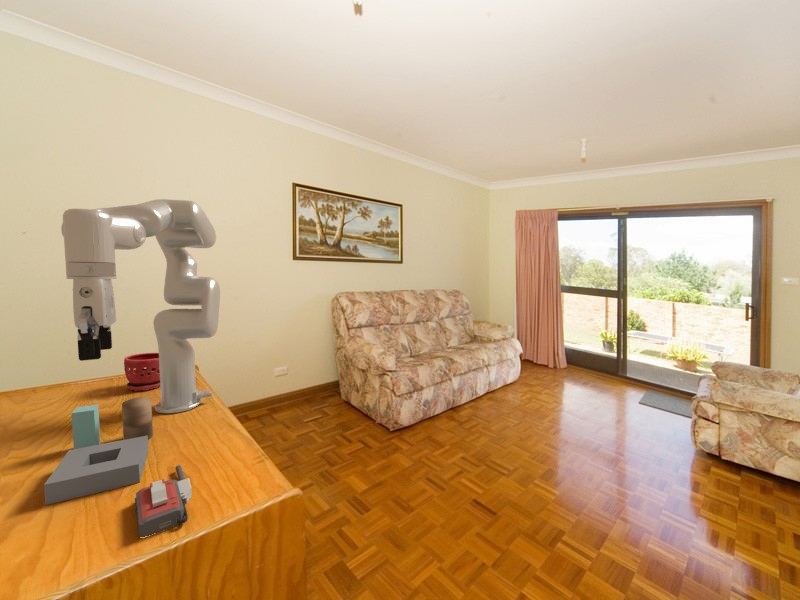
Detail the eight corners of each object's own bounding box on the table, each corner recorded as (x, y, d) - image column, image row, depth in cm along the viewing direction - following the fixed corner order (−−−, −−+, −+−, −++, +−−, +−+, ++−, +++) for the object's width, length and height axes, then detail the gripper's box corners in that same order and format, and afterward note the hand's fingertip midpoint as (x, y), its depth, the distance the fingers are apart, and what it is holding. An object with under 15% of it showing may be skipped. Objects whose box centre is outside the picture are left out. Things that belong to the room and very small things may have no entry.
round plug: (154, 431, 92) (152, 395, 91) (151, 440, 87) (149, 403, 86) (126, 436, 89) (124, 399, 88) (121, 446, 84) (119, 407, 83)
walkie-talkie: (200, 522, 60) (184, 470, 75) (200, 498, 59) (183, 451, 75) (138, 547, 54) (133, 486, 69) (136, 521, 54) (132, 465, 69)
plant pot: (145, 394, 119) (143, 361, 118) (116, 391, 122) (114, 358, 121) (177, 383, 132) (176, 352, 131) (150, 380, 135) (148, 350, 134)
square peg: (100, 442, 86) (98, 404, 85) (96, 449, 82) (93, 410, 82) (79, 446, 84) (76, 407, 83) (74, 454, 80) (71, 413, 79)
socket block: (148, 451, 82) (147, 435, 82) (139, 482, 70) (138, 463, 70) (70, 467, 75) (69, 450, 74) (45, 505, 63) (44, 484, 62)
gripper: (105, 272, 63) (110, 361, 65) (123, 271, 78) (127, 344, 80) (50, 271, 60) (56, 366, 61) (80, 271, 74) (84, 347, 76)
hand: (96, 354), depth 70 cm, fingers open, 9 cm apart
